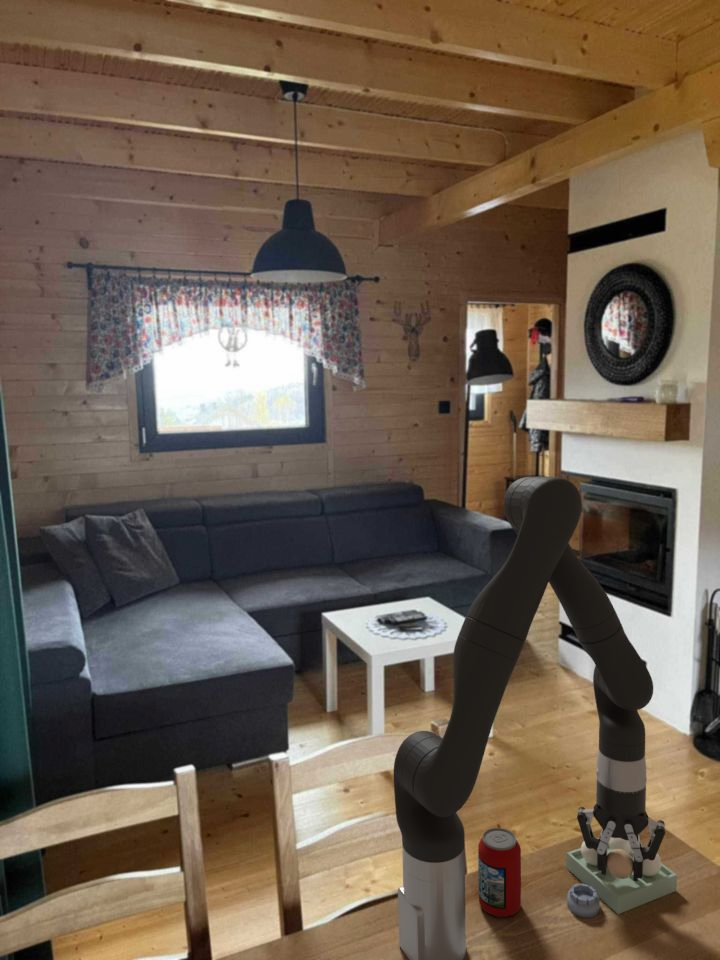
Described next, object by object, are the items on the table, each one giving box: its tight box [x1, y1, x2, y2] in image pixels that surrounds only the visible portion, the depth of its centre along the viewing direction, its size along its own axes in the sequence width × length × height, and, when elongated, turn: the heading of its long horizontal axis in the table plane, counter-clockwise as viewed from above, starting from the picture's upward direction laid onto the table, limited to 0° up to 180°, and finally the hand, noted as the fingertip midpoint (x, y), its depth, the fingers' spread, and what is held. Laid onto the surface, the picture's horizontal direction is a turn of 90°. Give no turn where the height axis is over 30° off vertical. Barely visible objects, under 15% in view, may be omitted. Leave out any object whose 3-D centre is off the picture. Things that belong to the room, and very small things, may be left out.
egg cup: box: [566, 882, 601, 919], centre depth 119 cm, size 5×5×3 cm
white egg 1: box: [580, 836, 608, 866], centre depth 126 cm, size 4×4×4 cm
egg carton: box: [565, 843, 678, 915], centre depth 125 cm, size 12×12×3 cm
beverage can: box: [477, 827, 522, 918], centre depth 119 cm, size 7×7×12 cm
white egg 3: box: [633, 852, 663, 877], centre depth 123 cm, size 4×4×4 cm
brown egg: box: [606, 849, 634, 879], centre depth 121 cm, size 4×4×4 cm
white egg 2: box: [609, 837, 633, 854], centre depth 129 cm, size 4×4×4 cm
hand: (619, 874), depth 121 cm, fingers closed on brown egg, 4 cm apart
